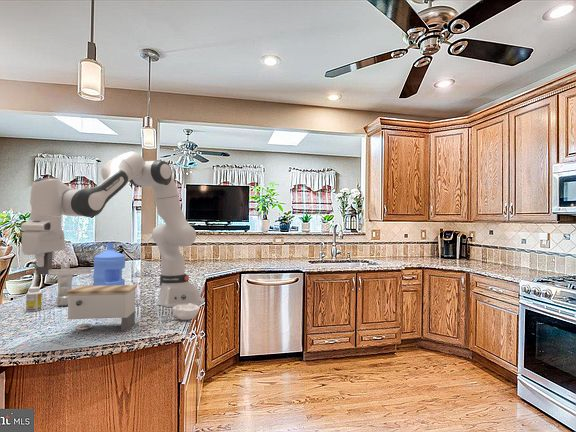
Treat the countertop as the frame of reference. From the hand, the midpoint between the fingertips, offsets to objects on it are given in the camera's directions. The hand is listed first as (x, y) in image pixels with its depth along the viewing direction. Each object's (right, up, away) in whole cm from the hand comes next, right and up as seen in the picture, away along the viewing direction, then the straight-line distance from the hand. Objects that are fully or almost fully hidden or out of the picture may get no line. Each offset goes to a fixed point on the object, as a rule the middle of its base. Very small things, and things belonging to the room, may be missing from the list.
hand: (44, 265), depth 117 cm
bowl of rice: (+40, -26, +26) cm, 54 cm away
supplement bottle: (-31, -25, +37) cm, 54 cm away
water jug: (-17, -26, +75) cm, 81 cm away
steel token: (+6, -25, +12) cm, 29 cm away
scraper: (+6, -3, +1) cm, 7 cm away
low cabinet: (+13, -25, +13) cm, 31 cm away
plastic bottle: (-23, -26, +46) cm, 58 cm away
